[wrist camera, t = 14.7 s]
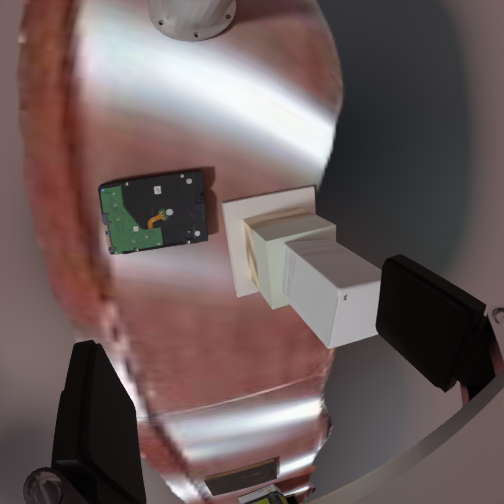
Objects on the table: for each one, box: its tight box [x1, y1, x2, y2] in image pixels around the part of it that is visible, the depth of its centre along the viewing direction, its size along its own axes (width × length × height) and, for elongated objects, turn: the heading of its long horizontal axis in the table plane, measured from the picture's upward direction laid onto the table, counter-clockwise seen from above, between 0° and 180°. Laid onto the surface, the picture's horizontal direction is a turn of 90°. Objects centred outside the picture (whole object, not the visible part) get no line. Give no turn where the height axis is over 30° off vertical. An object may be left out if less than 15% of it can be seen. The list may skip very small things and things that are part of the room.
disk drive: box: [98, 170, 208, 254], centre depth 41 cm, size 10×3×15 cm
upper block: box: [253, 215, 336, 309], centre depth 42 cm, size 10×10×5 cm
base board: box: [222, 186, 316, 297], centre depth 49 cm, size 16×15×1 cm
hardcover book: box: [204, 459, 277, 496], centre depth 77 cm, size 16×23×2 cm
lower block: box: [242, 207, 316, 291], centre depth 46 cm, size 10×10×5 cm
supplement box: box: [280, 239, 382, 349], centre depth 34 cm, size 7×7×13 cm
